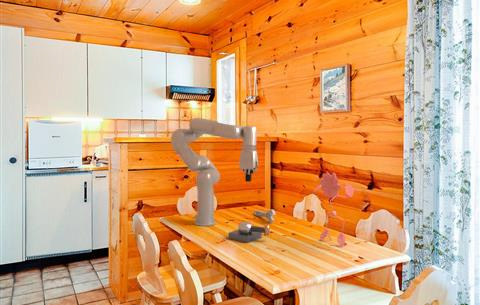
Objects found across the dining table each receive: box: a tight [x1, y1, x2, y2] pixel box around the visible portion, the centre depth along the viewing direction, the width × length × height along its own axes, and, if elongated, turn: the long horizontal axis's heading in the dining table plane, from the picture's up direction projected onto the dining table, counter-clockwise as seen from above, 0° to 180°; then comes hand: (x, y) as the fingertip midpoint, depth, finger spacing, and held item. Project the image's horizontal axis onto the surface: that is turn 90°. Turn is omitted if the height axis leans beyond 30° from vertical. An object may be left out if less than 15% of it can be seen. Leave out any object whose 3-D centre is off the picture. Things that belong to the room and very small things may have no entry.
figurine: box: [312, 171, 355, 252], centre depth 171 cm, size 15×26×35 cm, turn 33°
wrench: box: [253, 209, 277, 224], centre depth 224 cm, size 8×2×30 cm
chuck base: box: [228, 229, 263, 244], centre depth 182 cm, size 12×12×3 cm
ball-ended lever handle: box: [237, 221, 270, 236], centre depth 179 cm, size 16×7×4 cm, turn 66°
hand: (248, 181), depth 200 cm, fingers closed
